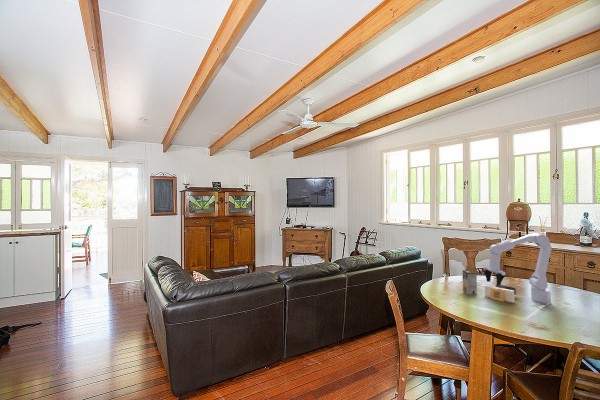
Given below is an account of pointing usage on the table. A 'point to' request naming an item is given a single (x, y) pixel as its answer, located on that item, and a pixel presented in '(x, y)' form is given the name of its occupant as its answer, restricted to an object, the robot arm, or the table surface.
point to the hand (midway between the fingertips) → (493, 283)
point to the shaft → (505, 288)
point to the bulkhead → (507, 294)
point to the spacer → (500, 294)
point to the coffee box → (469, 282)
